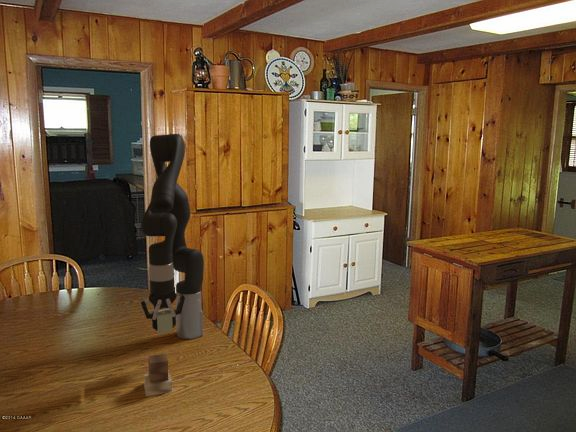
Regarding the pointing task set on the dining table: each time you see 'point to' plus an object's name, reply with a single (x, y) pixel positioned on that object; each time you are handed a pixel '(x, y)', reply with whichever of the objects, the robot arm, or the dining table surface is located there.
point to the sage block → (164, 321)
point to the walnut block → (158, 368)
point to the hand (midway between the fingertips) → (164, 328)
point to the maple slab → (157, 385)
